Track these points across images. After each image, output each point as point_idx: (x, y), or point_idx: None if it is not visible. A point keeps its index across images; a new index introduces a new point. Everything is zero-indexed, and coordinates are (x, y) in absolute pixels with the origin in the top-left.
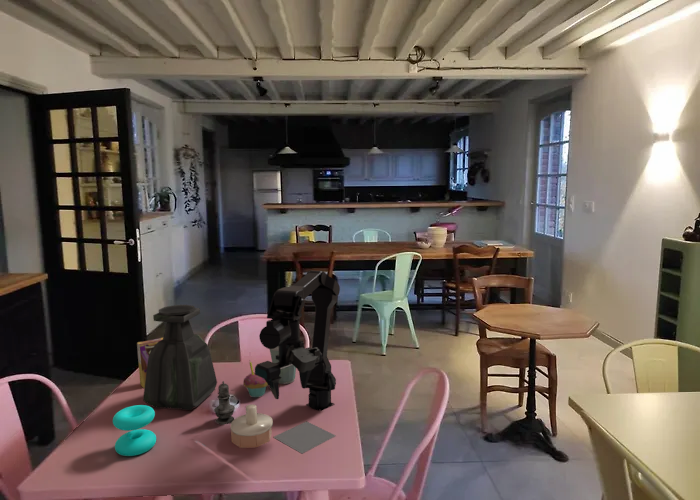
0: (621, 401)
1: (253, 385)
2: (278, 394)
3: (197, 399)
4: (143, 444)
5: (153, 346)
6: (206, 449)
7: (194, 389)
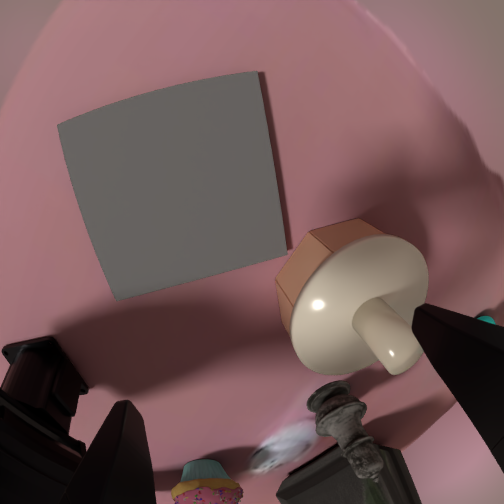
0: None
1: (226, 486)
2: (451, 320)
3: None
4: None
5: None
6: (428, 288)
7: None
